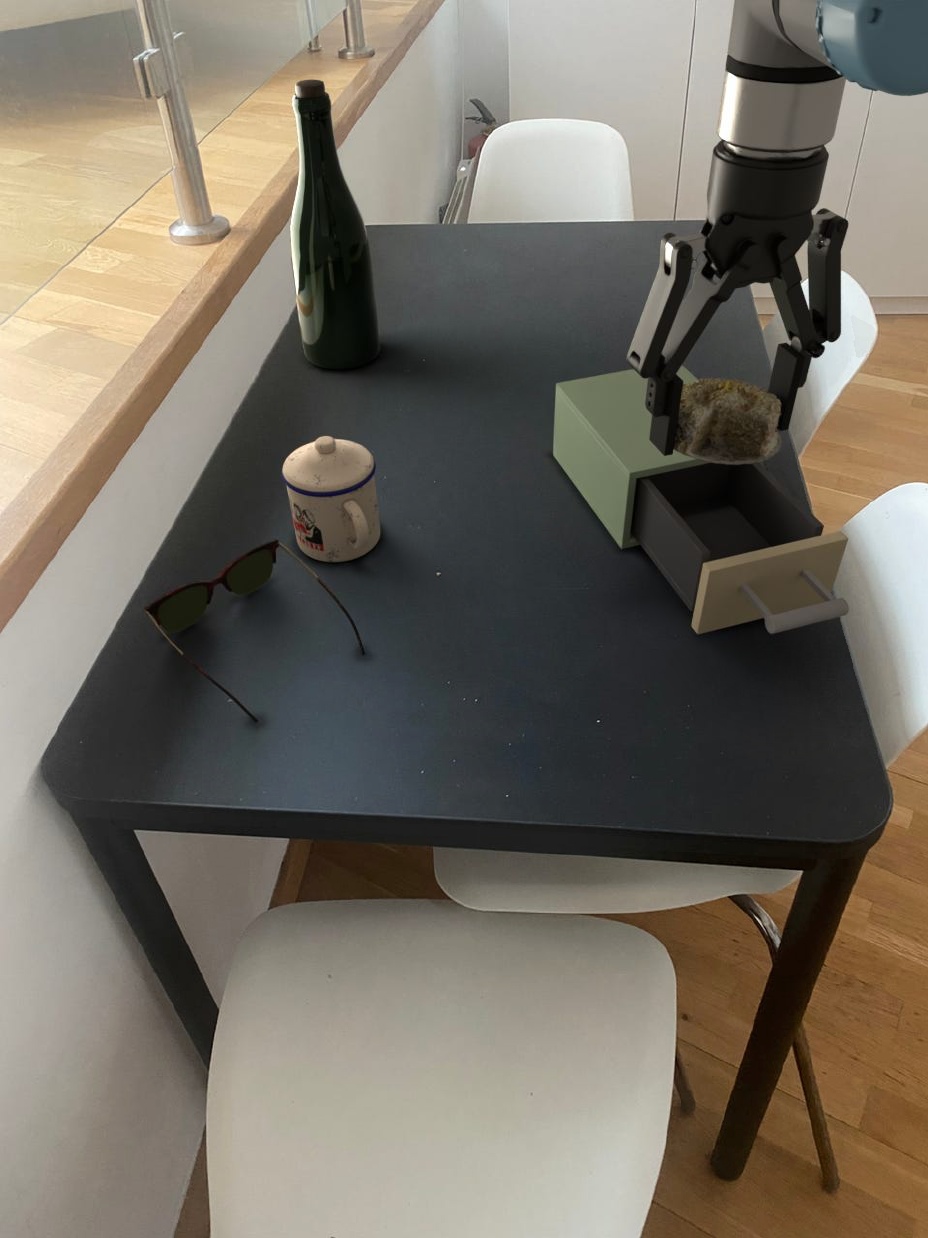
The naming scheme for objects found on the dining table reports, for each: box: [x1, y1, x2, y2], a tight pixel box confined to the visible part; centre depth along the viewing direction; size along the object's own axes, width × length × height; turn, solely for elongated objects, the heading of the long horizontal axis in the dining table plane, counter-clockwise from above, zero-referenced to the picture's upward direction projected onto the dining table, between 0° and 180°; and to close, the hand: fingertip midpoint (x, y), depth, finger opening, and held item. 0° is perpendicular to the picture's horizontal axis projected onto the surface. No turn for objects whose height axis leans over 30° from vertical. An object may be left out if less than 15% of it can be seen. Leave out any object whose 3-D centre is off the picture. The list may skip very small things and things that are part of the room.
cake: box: [674, 377, 783, 465], centre depth 75 cm, size 10×10×5 cm
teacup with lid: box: [281, 435, 381, 563], centre depth 90 cm, size 12×9×12 cm
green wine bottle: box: [288, 79, 381, 370], centre depth 115 cm, size 10×10×33 cm
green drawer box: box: [552, 364, 764, 550], centre depth 97 cm, size 19×15×9 cm
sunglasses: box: [143, 538, 366, 723], centre depth 82 cm, size 14×15×5 cm
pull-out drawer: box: [630, 462, 849, 635], centre depth 85 cm, size 23×13×7 cm, turn 18°
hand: (718, 434), depth 76 cm, fingers closed on cake, 10 cm apart
